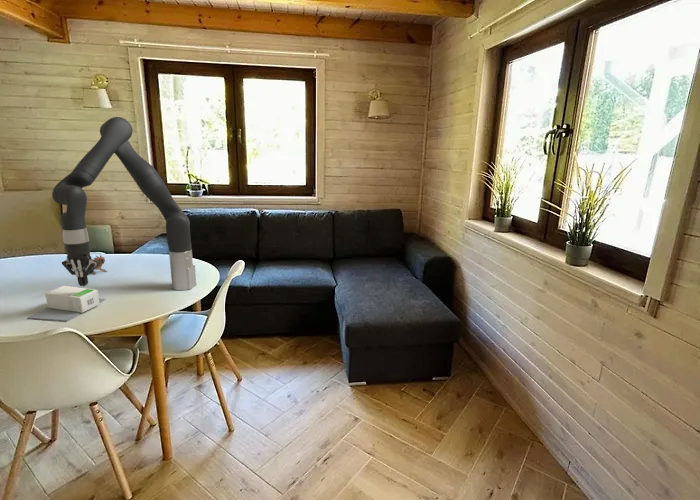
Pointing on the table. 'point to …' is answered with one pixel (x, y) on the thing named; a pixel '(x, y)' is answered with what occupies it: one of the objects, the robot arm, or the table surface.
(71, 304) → the skincare box
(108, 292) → the table surface
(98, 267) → the dinosaur figurine
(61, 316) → the slate mat
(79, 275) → the robot arm
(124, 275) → the table surface
